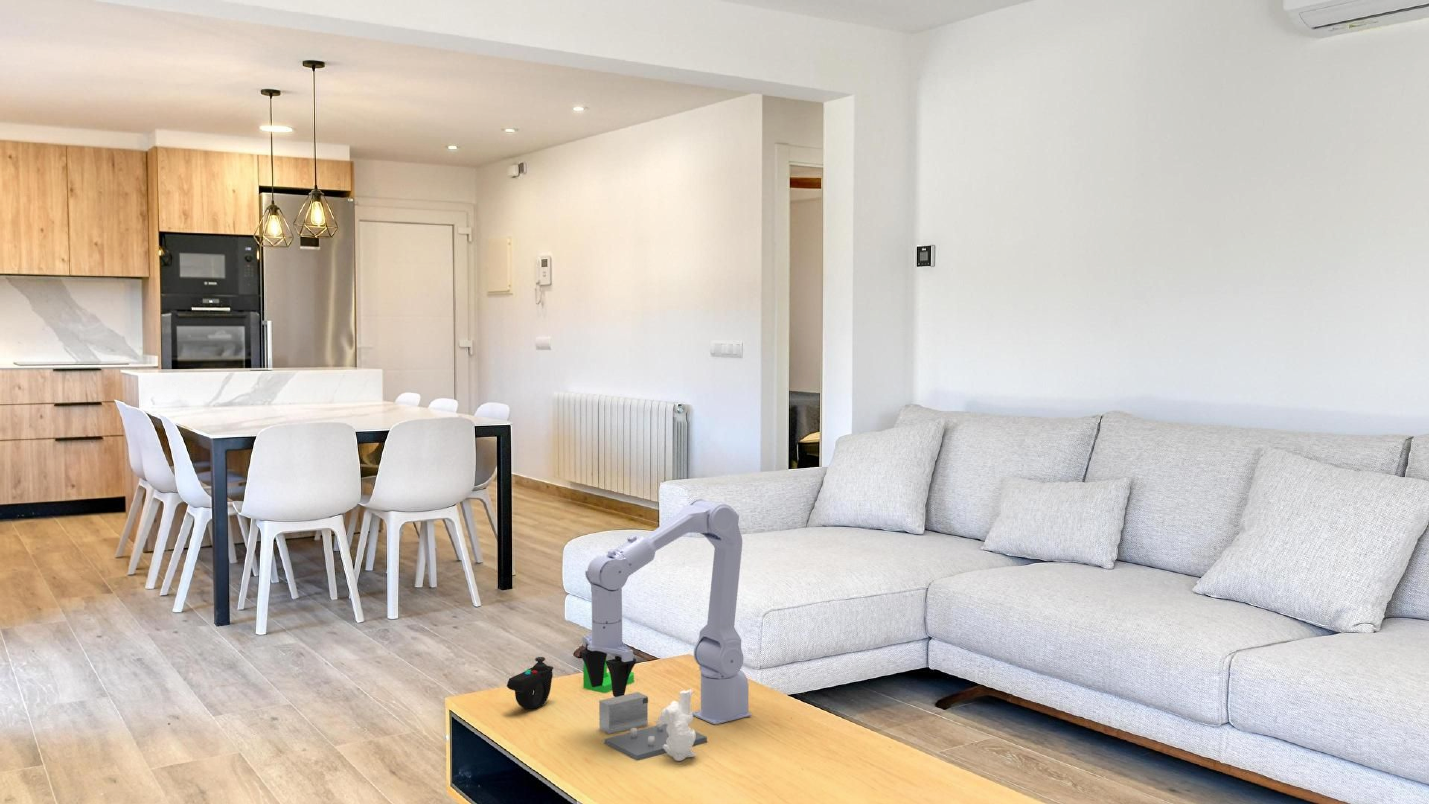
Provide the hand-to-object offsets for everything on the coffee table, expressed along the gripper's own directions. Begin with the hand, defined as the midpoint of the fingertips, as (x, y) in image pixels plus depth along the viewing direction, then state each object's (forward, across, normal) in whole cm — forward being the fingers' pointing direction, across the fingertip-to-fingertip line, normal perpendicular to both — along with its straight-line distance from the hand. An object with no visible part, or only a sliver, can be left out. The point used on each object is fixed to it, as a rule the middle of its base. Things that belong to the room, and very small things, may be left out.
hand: (607, 690), depth 221 cm
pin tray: (+10, +7, +6) cm, 13 cm away
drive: (+10, -4, +6) cm, 13 cm away
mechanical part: (+10, -30, +20) cm, 37 cm away
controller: (+10, -26, -2) cm, 27 cm away
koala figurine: (+10, +15, +6) cm, 19 cm away
